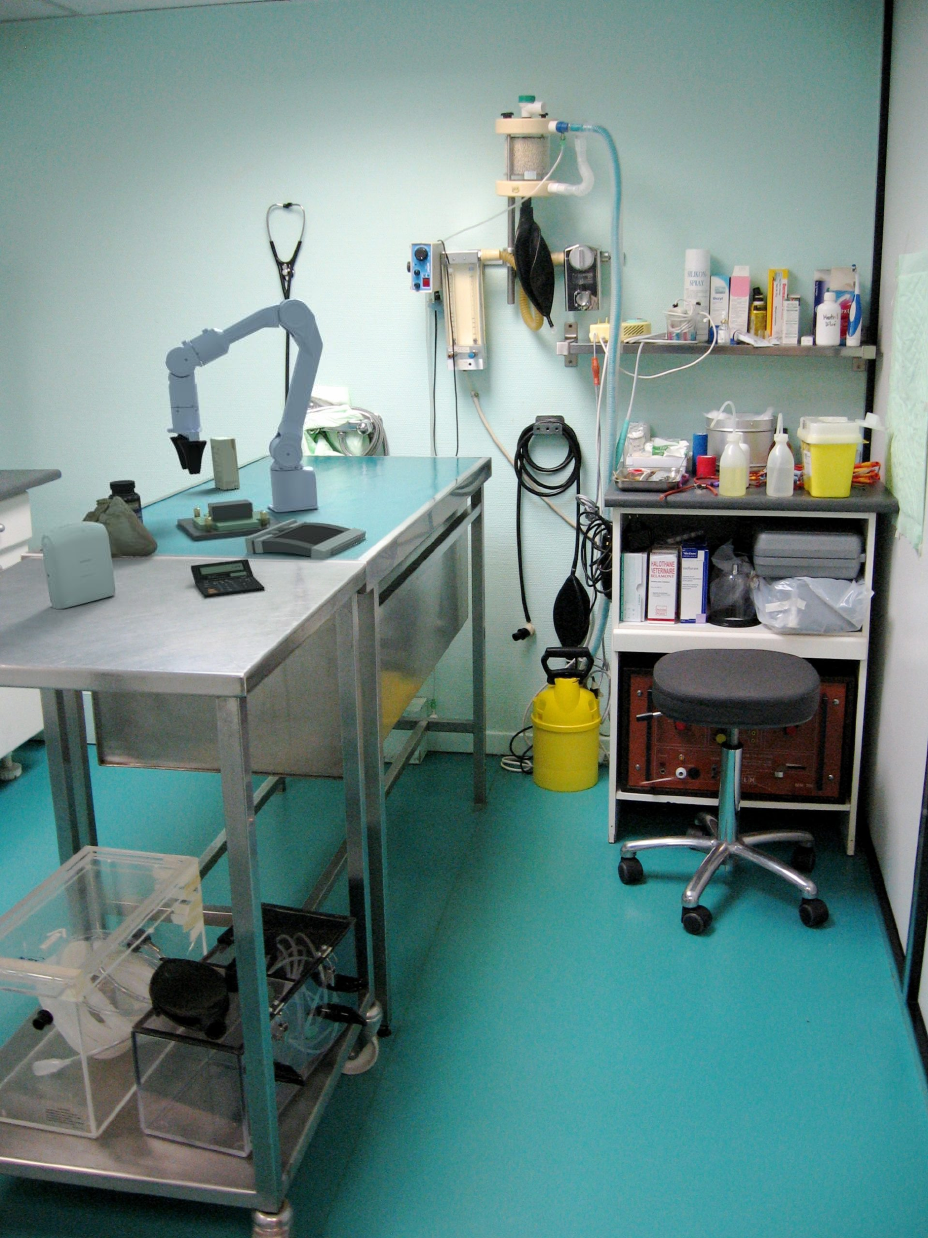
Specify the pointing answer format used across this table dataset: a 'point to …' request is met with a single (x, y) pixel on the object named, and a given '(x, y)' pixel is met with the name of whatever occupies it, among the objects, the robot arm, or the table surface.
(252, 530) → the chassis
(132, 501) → the pill bottle
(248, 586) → the calculator
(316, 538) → the grey curved panel device
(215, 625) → the table surface
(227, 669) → the table surface
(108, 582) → the photo printer
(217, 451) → the skincare box
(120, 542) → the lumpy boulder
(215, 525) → the circuit board
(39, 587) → the table surface
